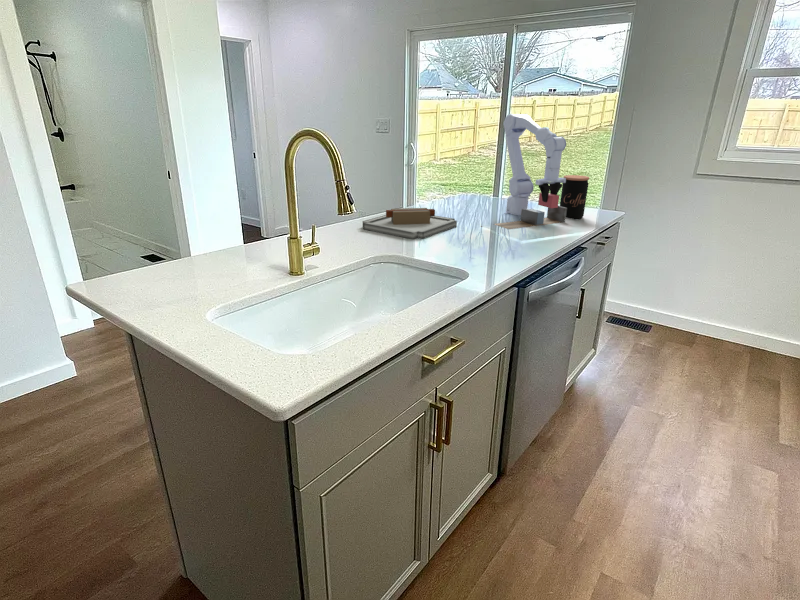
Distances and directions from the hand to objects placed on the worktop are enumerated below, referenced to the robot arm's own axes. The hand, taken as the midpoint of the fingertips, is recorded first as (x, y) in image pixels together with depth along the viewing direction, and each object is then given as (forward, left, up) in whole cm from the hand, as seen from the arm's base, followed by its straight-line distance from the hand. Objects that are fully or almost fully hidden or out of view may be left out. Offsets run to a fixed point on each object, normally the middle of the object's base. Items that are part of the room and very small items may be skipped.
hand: (548, 201), depth 196 cm
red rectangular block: (0, 0, -2) cm, 2 cm away
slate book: (0, -7, -8) cm, 11 cm away
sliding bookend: (0, -10, -8) cm, 13 cm away
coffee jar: (-4, +18, -10) cm, 21 cm away
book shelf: (0, -9, -9) cm, 13 cm away
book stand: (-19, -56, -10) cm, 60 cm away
